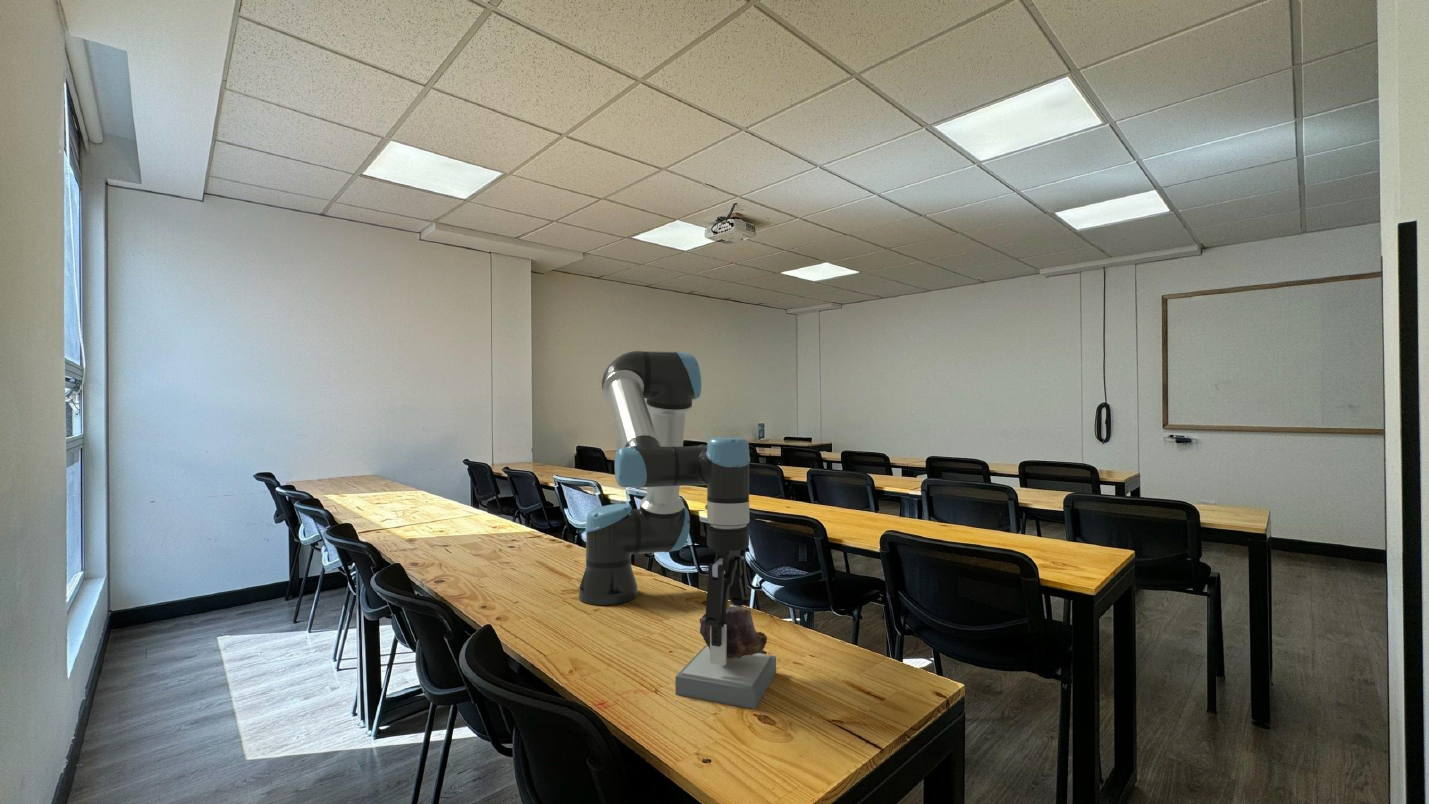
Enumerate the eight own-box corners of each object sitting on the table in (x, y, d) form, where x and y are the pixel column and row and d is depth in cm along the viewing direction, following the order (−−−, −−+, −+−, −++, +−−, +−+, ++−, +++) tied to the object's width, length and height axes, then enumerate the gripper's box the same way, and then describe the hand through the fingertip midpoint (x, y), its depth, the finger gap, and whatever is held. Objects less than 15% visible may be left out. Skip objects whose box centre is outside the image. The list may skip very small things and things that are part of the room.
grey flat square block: (705, 661, 111) (705, 643, 111) (776, 672, 106) (776, 653, 106) (675, 694, 97) (675, 674, 97) (754, 709, 93) (754, 687, 93)
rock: (725, 646, 109) (687, 660, 101) (721, 599, 110) (683, 610, 103) (774, 654, 101) (736, 670, 93) (769, 603, 102) (731, 615, 95)
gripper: (728, 513, 114) (727, 627, 113) (684, 535, 93) (683, 674, 93) (764, 515, 111) (764, 632, 111) (728, 538, 91) (727, 682, 90)
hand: (727, 651), depth 102 cm, fingers closed on rock, 9 cm apart
